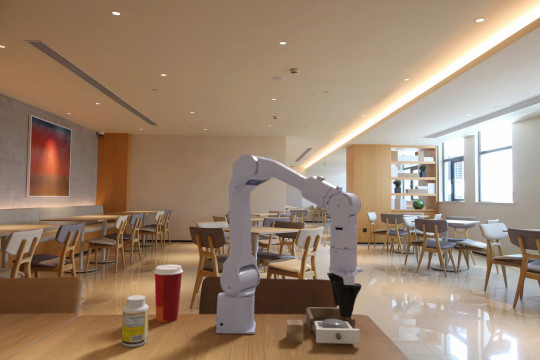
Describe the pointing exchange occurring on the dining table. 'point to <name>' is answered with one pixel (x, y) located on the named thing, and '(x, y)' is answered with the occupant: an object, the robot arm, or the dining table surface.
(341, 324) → the grey dome
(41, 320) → the dining table surface
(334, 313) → the open square box
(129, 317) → the supplement bottle
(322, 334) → the white drawer
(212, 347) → the dining table surface
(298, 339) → the wooden block
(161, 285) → the paper cup
